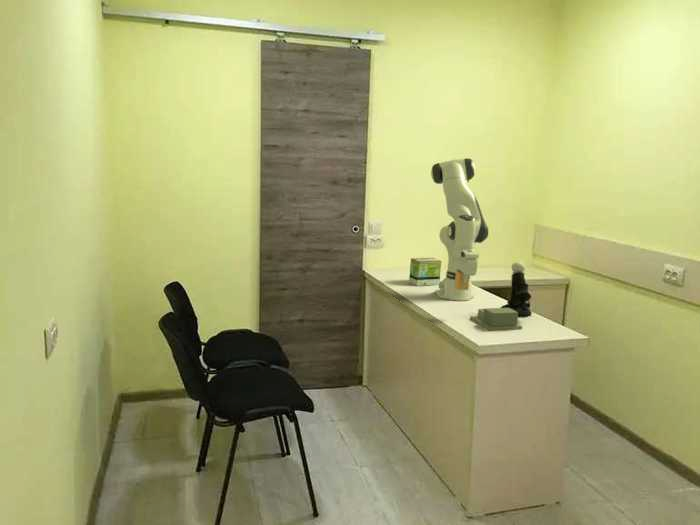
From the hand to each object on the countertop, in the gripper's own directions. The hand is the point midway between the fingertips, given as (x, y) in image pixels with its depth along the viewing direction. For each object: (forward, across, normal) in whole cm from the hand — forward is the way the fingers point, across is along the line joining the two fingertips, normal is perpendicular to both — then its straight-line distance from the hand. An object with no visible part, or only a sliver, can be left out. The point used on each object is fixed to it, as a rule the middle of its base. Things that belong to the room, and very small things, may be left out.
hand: (461, 281), depth 267 cm
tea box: (+18, -70, +10) cm, 73 cm away
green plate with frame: (+17, +12, +12) cm, 24 cm away
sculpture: (+17, 0, +30) cm, 34 cm away
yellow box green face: (+4, 0, 0) cm, 4 cm away
